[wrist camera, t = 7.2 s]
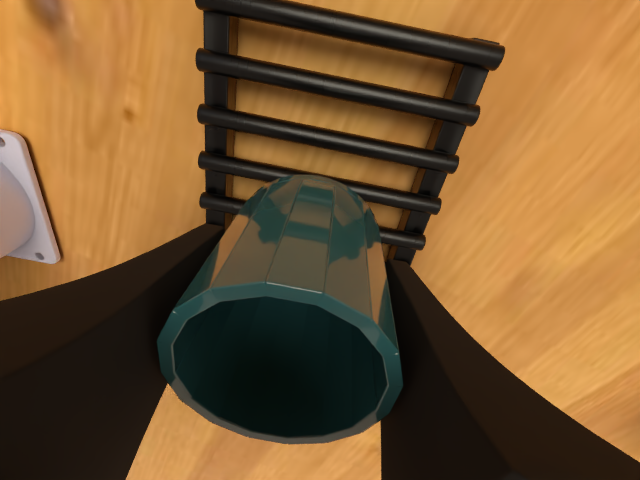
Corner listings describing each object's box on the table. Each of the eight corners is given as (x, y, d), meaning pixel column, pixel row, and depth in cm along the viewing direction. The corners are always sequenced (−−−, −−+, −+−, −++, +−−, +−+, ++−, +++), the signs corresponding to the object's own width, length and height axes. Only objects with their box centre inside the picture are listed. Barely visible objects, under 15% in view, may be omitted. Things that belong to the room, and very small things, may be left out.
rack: (213, 282, 20) (159, 375, 14) (214, -15, 12) (96, -71, 7) (383, 314, 20) (397, 418, 15) (488, 43, 13) (605, 38, 7)
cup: (235, 283, 13) (166, 423, 8) (241, 159, 10) (143, 258, 6) (360, 306, 13) (366, 459, 8) (398, 191, 11) (441, 315, 6)
